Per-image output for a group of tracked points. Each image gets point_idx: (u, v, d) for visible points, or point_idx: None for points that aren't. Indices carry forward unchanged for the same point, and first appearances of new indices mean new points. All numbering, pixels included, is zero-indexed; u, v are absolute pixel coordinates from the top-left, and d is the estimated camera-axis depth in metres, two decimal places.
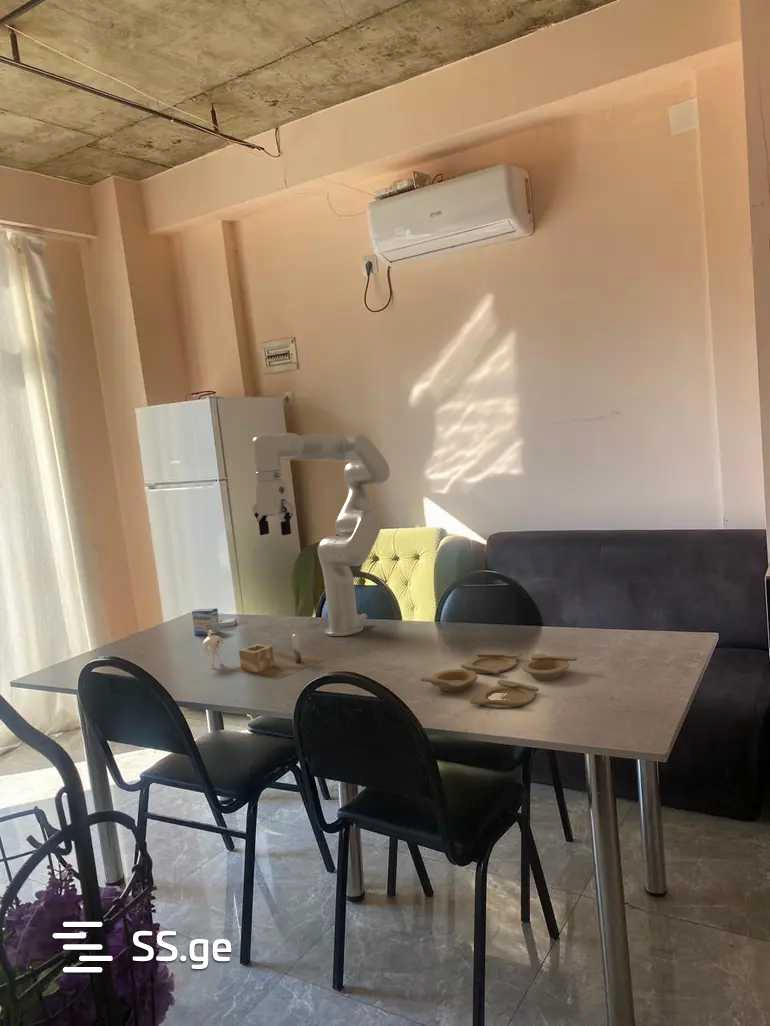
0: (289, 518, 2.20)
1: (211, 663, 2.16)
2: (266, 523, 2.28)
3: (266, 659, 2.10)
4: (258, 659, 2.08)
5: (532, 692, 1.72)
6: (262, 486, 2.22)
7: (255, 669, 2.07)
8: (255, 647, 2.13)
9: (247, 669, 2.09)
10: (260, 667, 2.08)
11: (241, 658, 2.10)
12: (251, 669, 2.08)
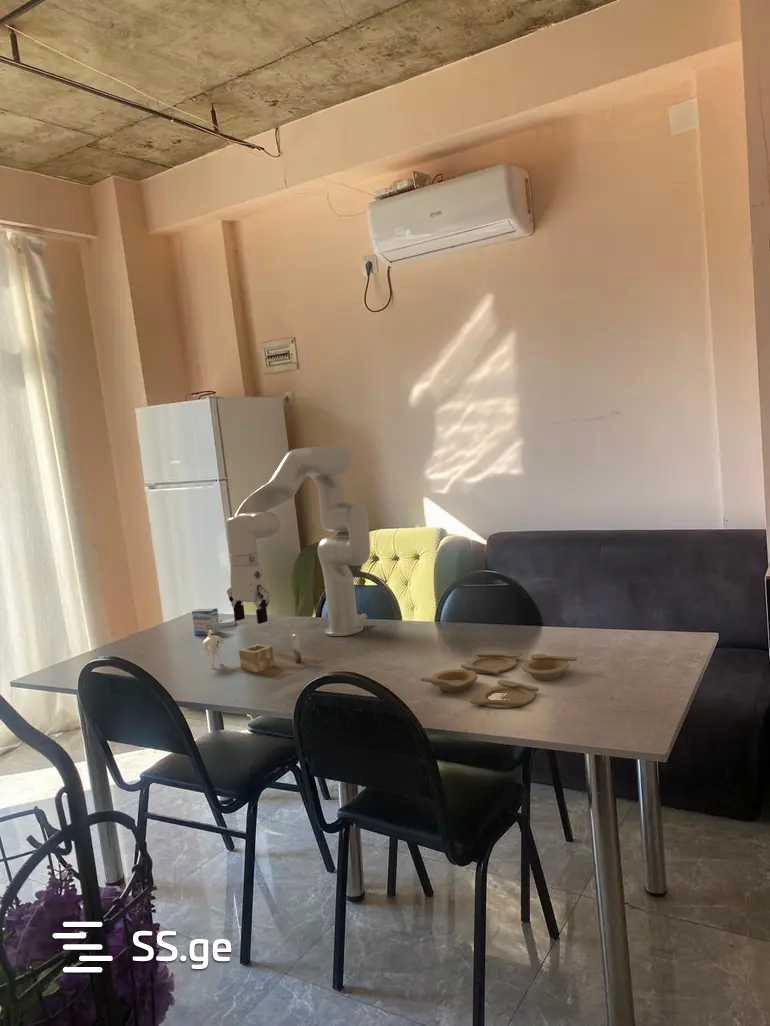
0: (265, 605, 2.05)
1: (211, 663, 2.16)
2: (241, 608, 2.13)
3: (266, 659, 2.10)
4: (258, 659, 2.08)
5: (532, 692, 1.72)
6: (236, 571, 2.07)
7: (255, 669, 2.07)
8: (255, 647, 2.13)
9: (247, 669, 2.09)
10: (260, 667, 2.08)
11: (241, 658, 2.10)
12: (251, 669, 2.08)
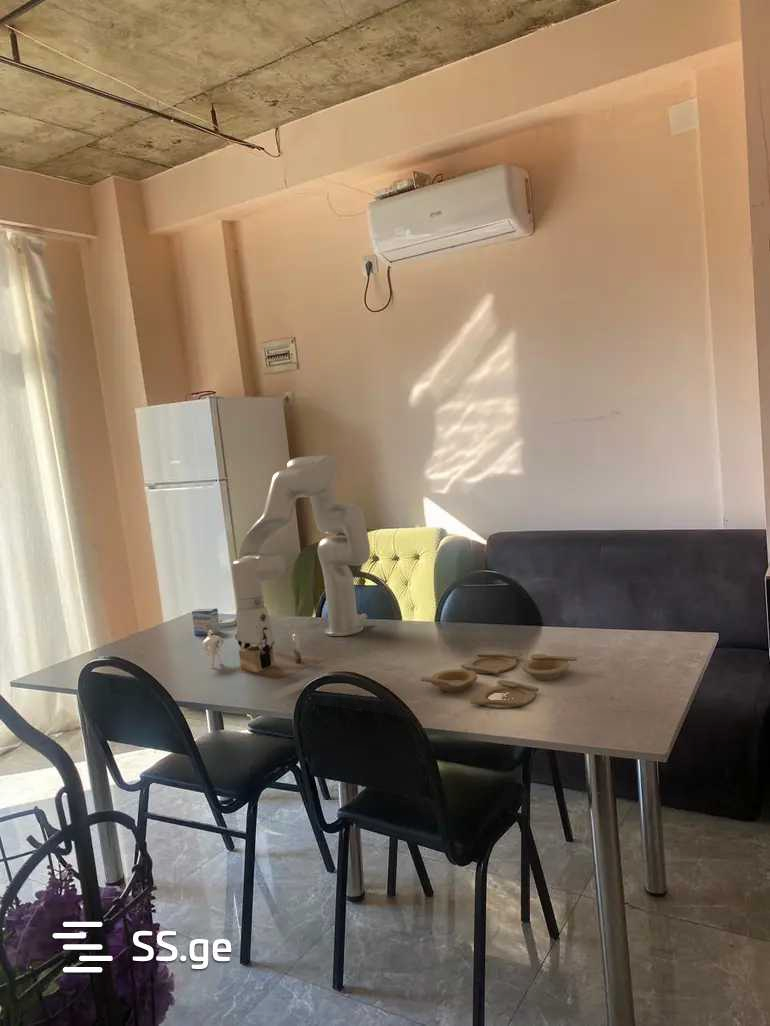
0: (269, 650, 2.08)
1: (211, 663, 2.16)
2: None
3: None
4: (258, 659, 2.08)
5: (532, 692, 1.72)
6: (242, 613, 2.09)
7: (255, 669, 2.07)
8: (255, 647, 2.13)
9: (247, 669, 2.09)
10: (260, 667, 2.08)
11: (241, 658, 2.10)
12: (251, 669, 2.08)
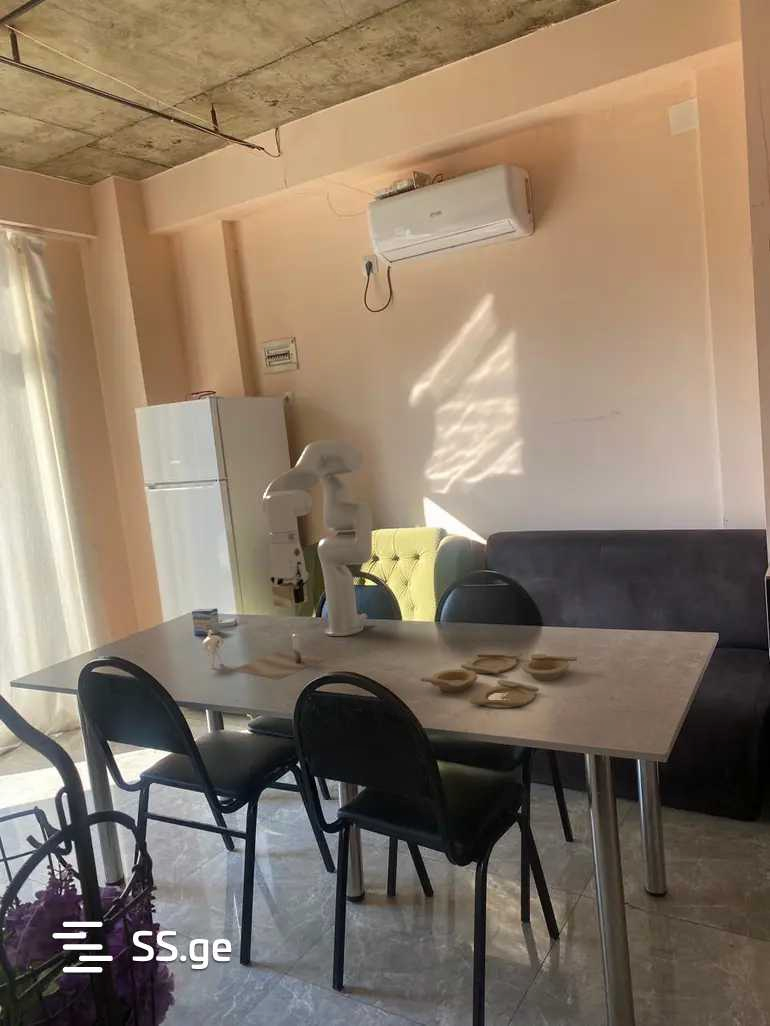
0: (302, 585, 2.07)
1: (211, 663, 2.16)
2: None
3: None
4: (292, 594, 2.07)
5: (532, 692, 1.72)
6: (275, 548, 2.08)
7: (289, 604, 2.06)
8: (287, 584, 2.13)
9: (280, 604, 2.08)
10: (294, 602, 2.07)
11: (274, 594, 2.10)
12: (284, 604, 2.07)
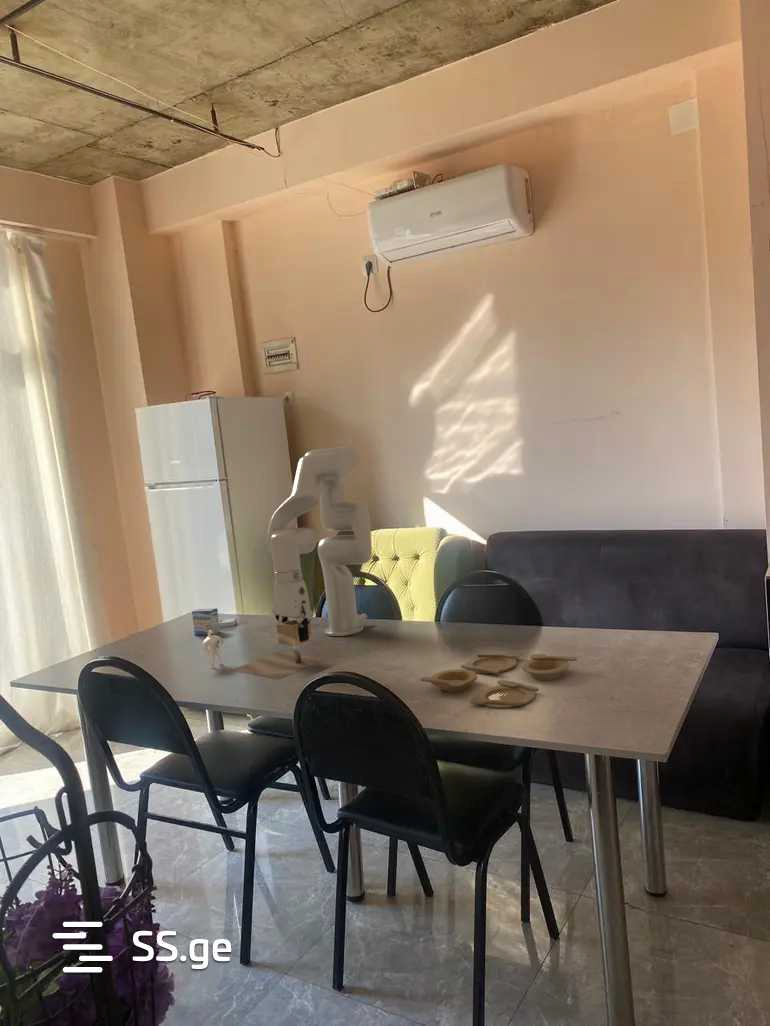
0: (307, 624, 2.08)
1: (211, 663, 2.16)
2: None
3: None
4: (296, 632, 2.08)
5: (532, 692, 1.72)
6: (280, 587, 2.09)
7: (293, 643, 2.07)
8: (292, 622, 2.14)
9: (285, 643, 2.09)
10: (298, 641, 2.08)
11: (279, 632, 2.10)
12: (289, 643, 2.08)
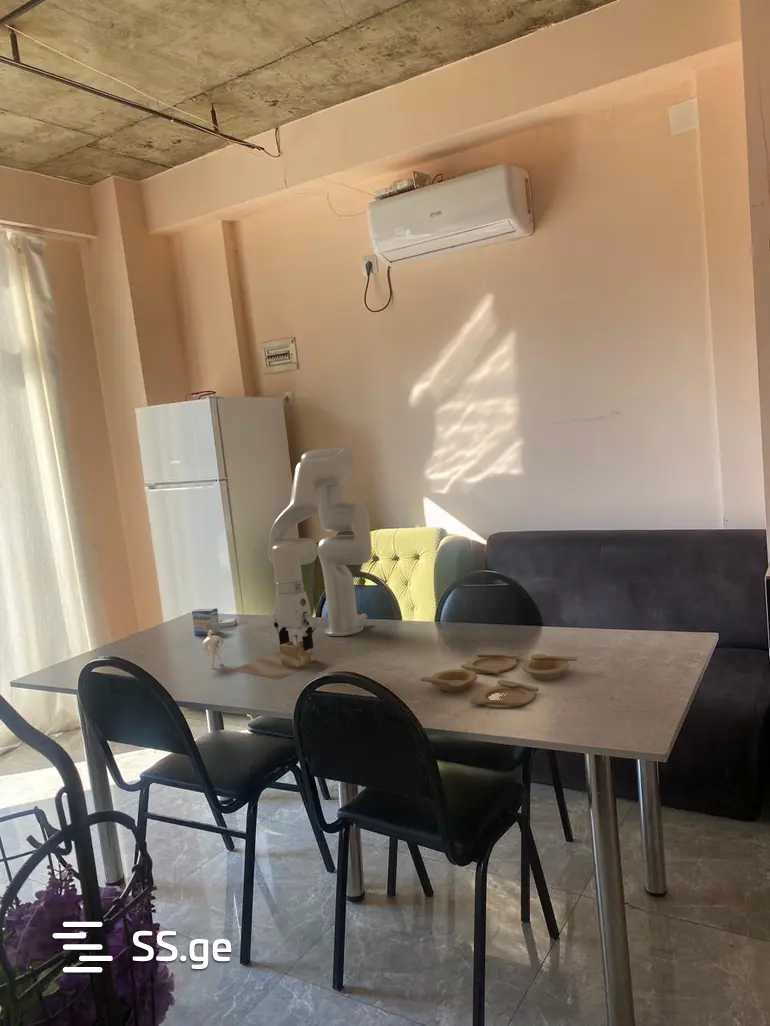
0: (311, 632, 2.08)
1: (211, 663, 2.16)
2: (286, 634, 2.15)
3: (307, 654, 2.11)
4: (299, 654, 2.09)
5: (532, 692, 1.72)
6: (282, 598, 2.09)
7: (296, 664, 2.08)
8: None
9: (288, 664, 2.10)
10: (301, 662, 2.09)
11: (282, 653, 2.11)
12: (292, 664, 2.09)
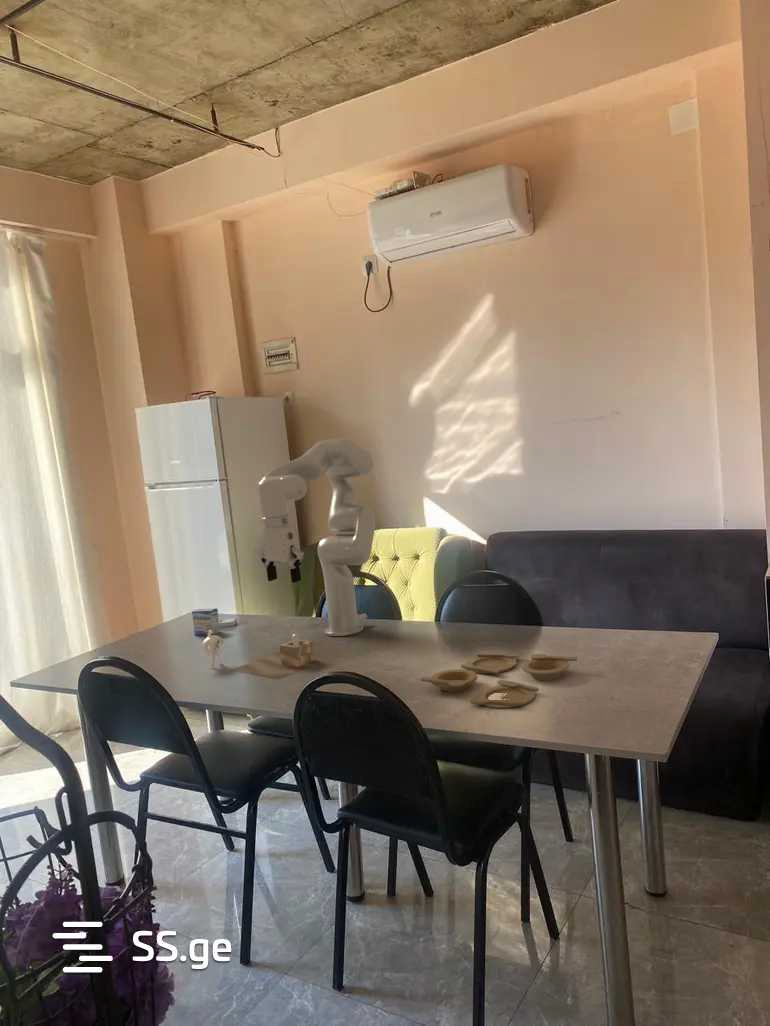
0: (299, 565, 2.13)
1: (211, 663, 2.16)
2: (274, 568, 2.20)
3: (307, 654, 2.11)
4: (299, 654, 2.09)
5: (532, 692, 1.72)
6: (269, 532, 2.14)
7: (296, 664, 2.08)
8: None
9: (288, 664, 2.10)
10: (301, 662, 2.09)
11: (282, 653, 2.11)
12: (292, 664, 2.09)
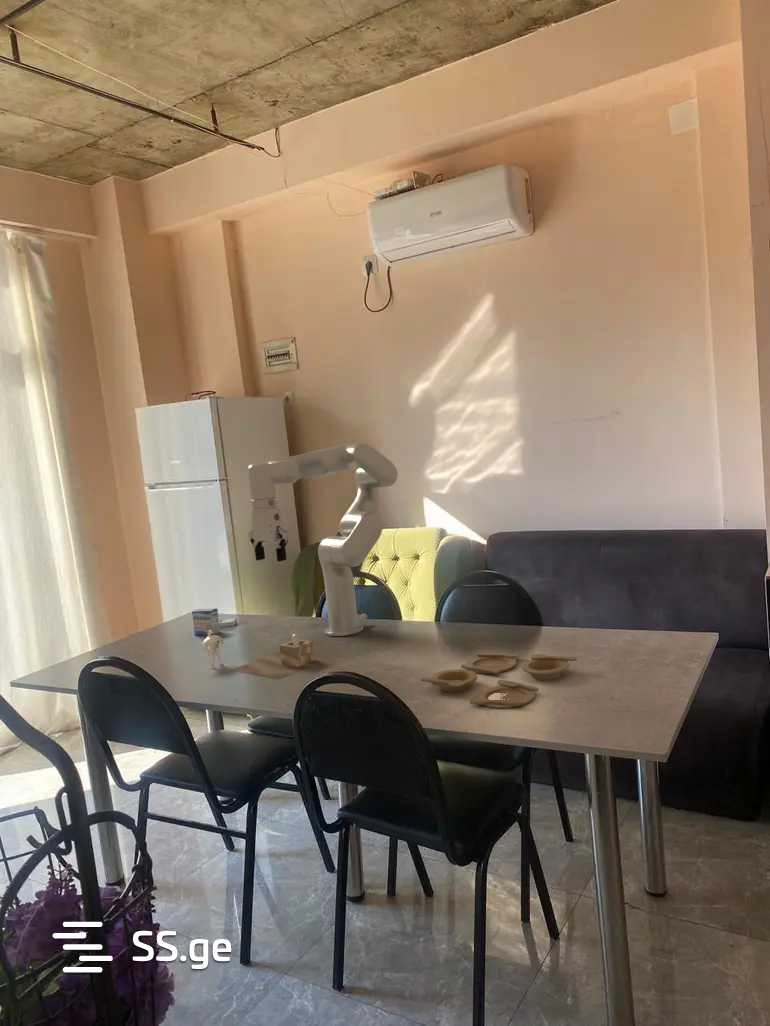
0: (284, 544, 2.25)
1: (211, 663, 2.16)
2: (262, 549, 2.32)
3: (307, 654, 2.11)
4: (299, 654, 2.09)
5: (532, 692, 1.72)
6: (257, 513, 2.26)
7: (296, 664, 2.08)
8: None
9: (288, 664, 2.10)
10: (301, 662, 2.09)
11: (282, 653, 2.11)
12: (292, 664, 2.09)
